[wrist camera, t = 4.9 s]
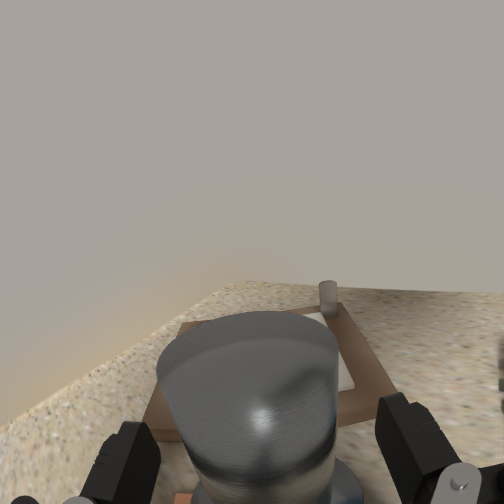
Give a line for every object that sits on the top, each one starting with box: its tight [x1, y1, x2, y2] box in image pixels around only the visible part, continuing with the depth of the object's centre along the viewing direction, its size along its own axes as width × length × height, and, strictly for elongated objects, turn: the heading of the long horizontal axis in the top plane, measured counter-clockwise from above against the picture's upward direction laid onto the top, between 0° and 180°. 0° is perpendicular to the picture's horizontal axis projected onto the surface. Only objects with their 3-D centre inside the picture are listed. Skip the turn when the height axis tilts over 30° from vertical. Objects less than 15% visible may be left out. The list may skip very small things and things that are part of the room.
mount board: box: [142, 281, 398, 442], centre depth 23 cm, size 16×15×4 cm
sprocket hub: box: [156, 311, 364, 504], centre depth 9 cm, size 9×8×10 cm
